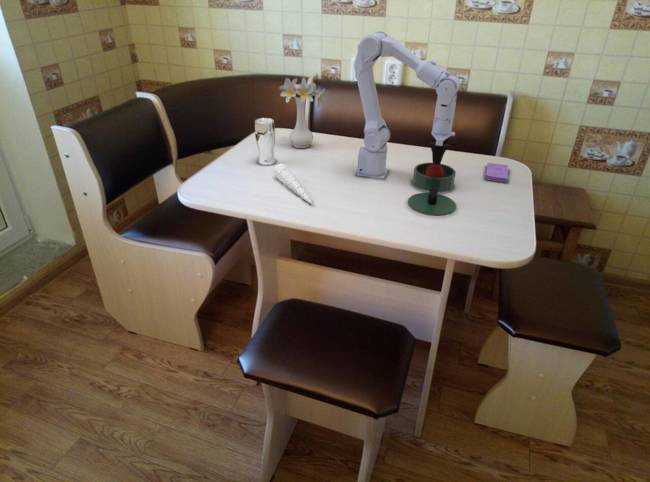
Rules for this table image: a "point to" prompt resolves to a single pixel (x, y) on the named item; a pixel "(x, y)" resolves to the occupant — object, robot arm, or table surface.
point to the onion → (434, 171)
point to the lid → (432, 203)
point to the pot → (430, 182)
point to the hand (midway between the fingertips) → (437, 160)
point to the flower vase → (301, 108)
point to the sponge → (497, 172)
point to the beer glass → (265, 140)
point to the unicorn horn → (289, 180)
